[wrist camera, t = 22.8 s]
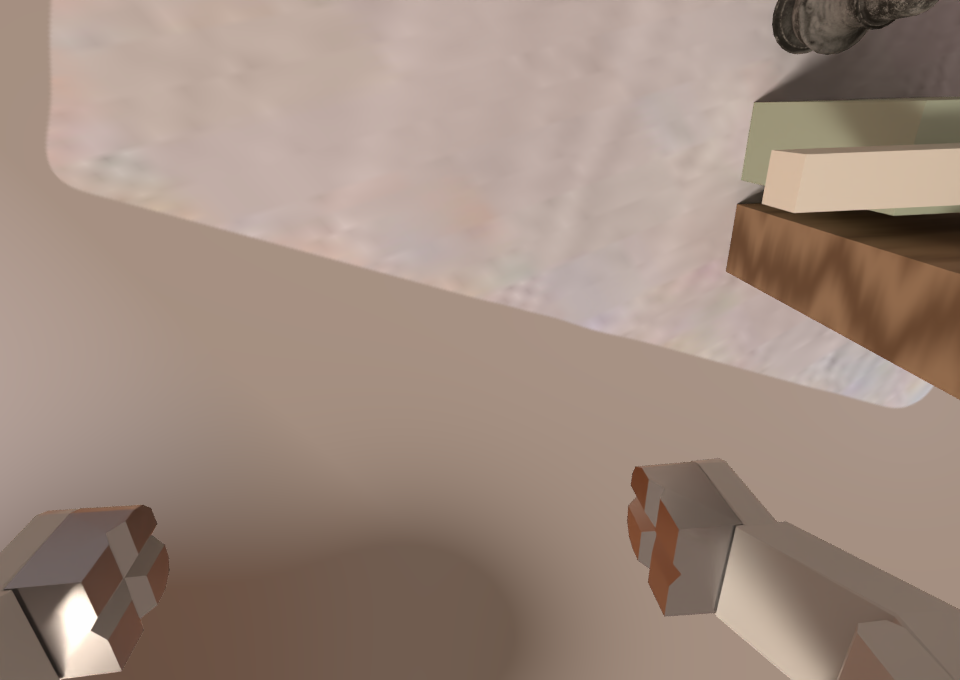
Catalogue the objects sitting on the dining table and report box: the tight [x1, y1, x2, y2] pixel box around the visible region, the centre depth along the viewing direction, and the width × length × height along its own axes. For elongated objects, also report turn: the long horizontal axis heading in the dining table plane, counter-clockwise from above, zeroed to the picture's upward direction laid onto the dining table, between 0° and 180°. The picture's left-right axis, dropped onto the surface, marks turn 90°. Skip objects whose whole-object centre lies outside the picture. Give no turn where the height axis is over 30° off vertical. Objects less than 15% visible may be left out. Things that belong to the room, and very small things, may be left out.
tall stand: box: [726, 203, 960, 400], centre depth 36 cm, size 6×15×26 cm, turn 92°
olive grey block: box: [741, 97, 960, 216], centre depth 37 cm, size 6×15×16 cm, turn 91°
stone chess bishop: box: [772, 0, 938, 55], centre depth 35 cm, size 6×6×12 cm
